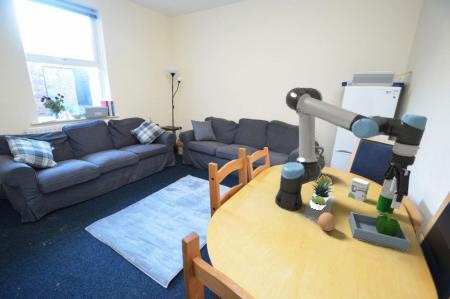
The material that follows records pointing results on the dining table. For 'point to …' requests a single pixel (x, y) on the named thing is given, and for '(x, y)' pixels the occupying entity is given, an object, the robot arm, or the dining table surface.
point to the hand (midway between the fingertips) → (389, 200)
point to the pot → (319, 157)
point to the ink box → (359, 189)
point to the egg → (327, 221)
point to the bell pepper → (387, 225)
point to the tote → (376, 232)
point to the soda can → (385, 203)
